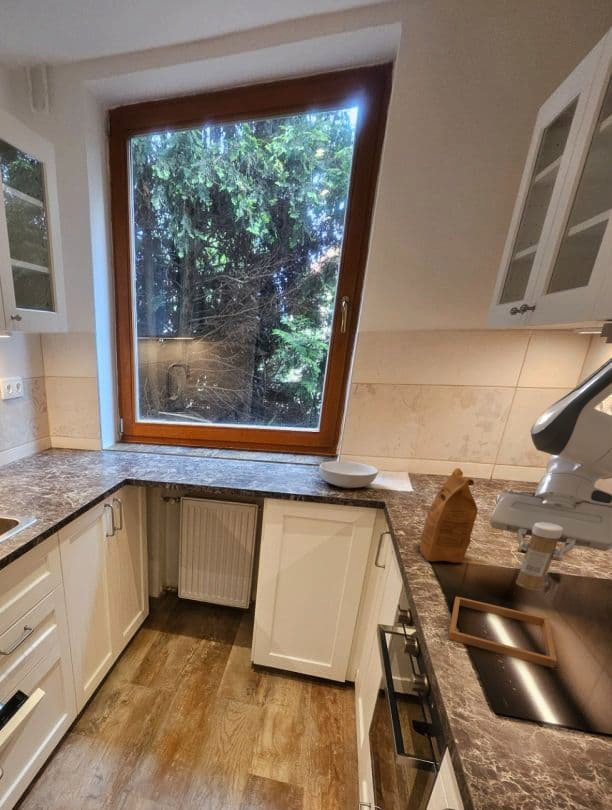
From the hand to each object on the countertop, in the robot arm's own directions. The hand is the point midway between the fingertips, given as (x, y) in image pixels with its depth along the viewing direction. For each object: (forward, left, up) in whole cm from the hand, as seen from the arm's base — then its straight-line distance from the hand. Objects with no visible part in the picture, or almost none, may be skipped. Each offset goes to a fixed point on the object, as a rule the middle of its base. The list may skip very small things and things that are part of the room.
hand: (538, 555), depth 94 cm
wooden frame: (+4, +15, -12) cm, 20 cm away
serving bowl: (+53, -73, -12) cm, 91 cm away
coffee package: (+17, -20, -12) cm, 29 cm away
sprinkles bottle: (0, -1, -7) cm, 7 cm away
